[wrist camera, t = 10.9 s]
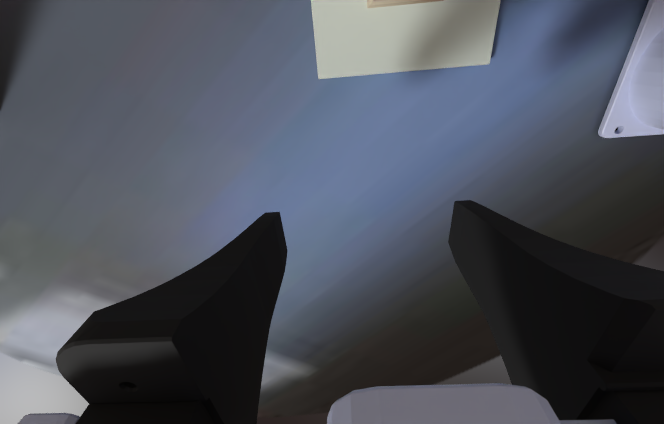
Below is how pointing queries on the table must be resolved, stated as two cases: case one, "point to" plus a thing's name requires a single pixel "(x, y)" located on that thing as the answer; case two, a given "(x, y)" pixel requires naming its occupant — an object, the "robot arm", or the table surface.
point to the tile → (401, 36)
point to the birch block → (394, 2)
